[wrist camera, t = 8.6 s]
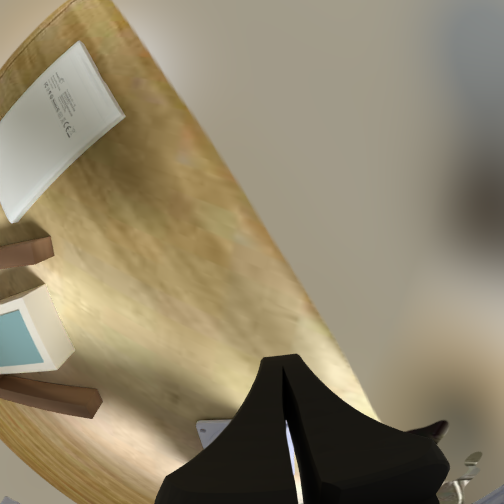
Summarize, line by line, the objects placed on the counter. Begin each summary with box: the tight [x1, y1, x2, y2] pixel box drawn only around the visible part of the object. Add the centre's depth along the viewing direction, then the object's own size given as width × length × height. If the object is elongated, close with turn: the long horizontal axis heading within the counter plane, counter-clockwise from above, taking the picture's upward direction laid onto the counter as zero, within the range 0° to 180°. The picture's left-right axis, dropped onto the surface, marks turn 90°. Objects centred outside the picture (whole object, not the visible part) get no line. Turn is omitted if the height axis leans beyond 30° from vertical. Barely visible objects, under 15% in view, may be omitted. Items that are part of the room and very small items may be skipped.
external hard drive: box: [0, 41, 126, 223], centre depth 17 cm, size 2×8×12 cm
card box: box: [0, 284, 75, 374], centre depth 19 cm, size 6×9×4 cm, turn 106°
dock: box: [0, 236, 103, 419], centre depth 19 cm, size 15×15×2 cm
